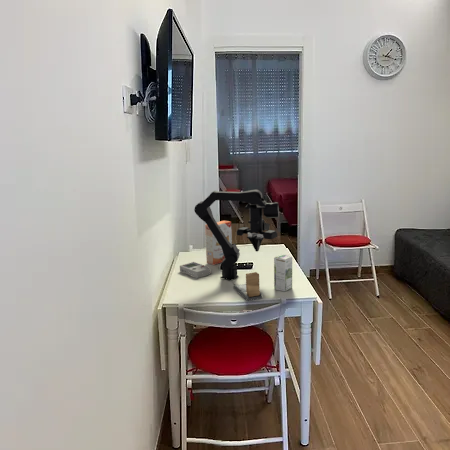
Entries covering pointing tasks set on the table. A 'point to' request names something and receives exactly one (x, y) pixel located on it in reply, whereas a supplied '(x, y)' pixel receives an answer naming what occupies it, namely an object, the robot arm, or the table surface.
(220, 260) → the cracker box
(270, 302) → the table surface
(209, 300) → the table surface
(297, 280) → the table surface
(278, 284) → the syrup box
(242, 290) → the rail
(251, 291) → the brown rectangular block
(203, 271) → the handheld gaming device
